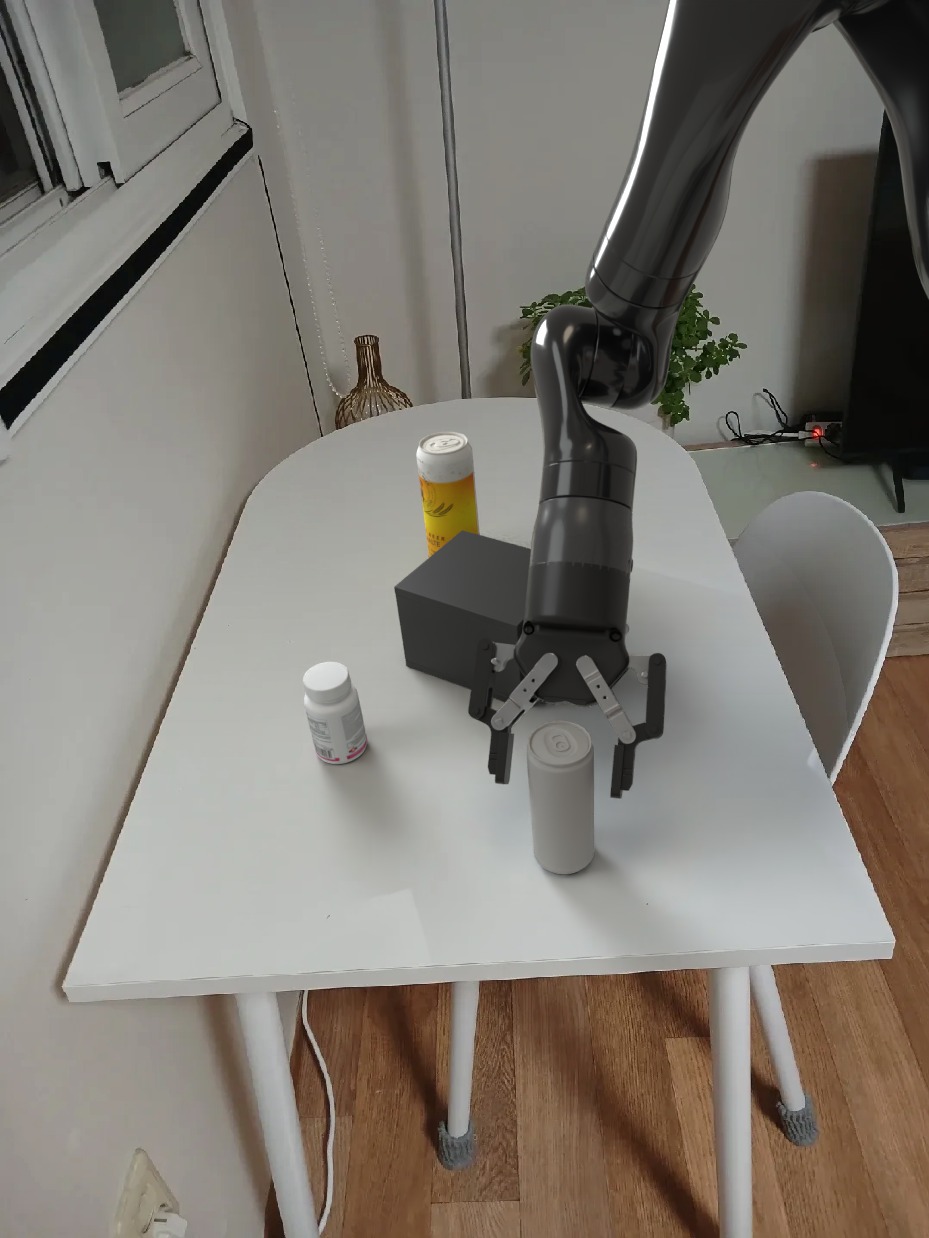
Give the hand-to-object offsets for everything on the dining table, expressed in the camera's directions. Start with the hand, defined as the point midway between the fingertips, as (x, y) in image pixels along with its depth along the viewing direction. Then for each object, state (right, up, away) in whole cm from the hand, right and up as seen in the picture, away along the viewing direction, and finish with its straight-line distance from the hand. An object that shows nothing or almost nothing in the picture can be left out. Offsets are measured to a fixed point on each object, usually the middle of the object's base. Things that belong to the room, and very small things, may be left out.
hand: (558, 790), depth 68 cm
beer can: (-8, +19, +43) cm, 47 cm away
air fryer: (-4, +9, +28) cm, 29 cm away
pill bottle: (-18, 0, +18) cm, 26 cm away
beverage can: (+1, -6, +6) cm, 9 cm away
